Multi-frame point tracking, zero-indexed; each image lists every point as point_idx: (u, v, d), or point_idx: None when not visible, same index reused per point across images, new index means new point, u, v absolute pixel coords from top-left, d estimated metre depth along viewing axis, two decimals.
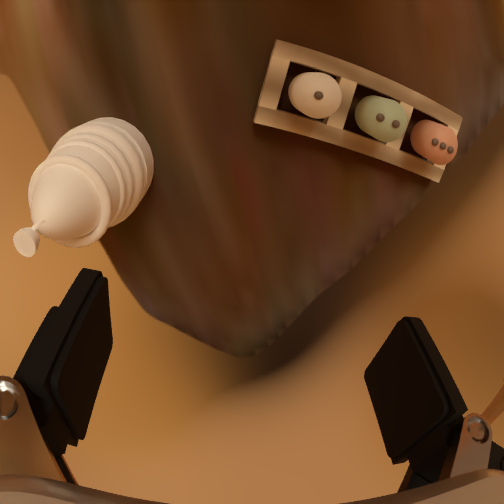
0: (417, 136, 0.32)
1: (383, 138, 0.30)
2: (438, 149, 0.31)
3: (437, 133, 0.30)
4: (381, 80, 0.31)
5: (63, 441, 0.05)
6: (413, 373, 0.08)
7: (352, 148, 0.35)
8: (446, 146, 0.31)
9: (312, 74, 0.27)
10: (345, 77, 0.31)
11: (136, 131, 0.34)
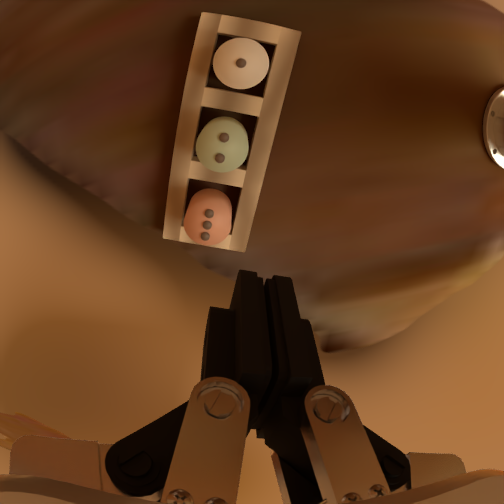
0: (209, 194, 0.33)
1: (199, 145, 0.28)
2: (201, 219, 0.32)
3: (220, 214, 0.32)
4: (266, 144, 0.32)
5: None
6: None
7: (180, 121, 0.30)
8: (208, 229, 0.32)
9: (265, 55, 0.24)
10: (263, 103, 0.30)
11: None
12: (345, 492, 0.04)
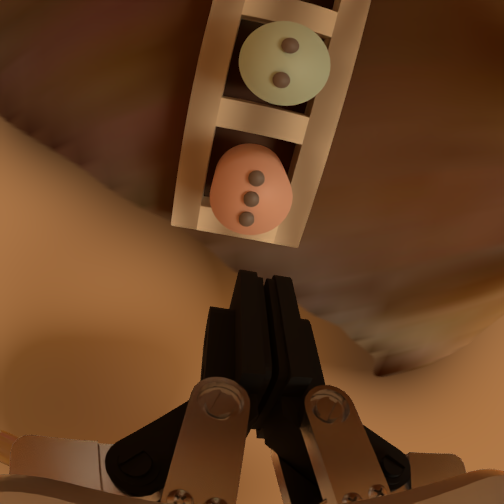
0: (253, 149, 0.19)
1: (245, 57, 0.14)
2: (241, 189, 0.18)
3: (275, 181, 0.18)
4: (341, 79, 0.19)
5: None
6: None
7: (207, 35, 0.17)
8: (252, 206, 0.19)
9: None
10: (338, 18, 0.16)
11: None
12: (345, 492, 0.04)
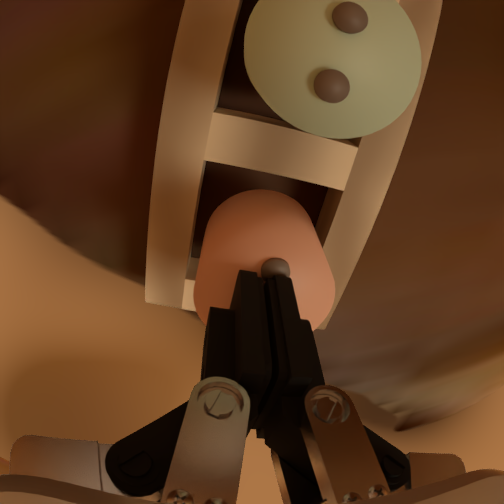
0: (268, 207, 0.11)
1: (259, 36, 0.06)
2: None
3: (307, 274, 0.10)
4: None
5: None
6: None
7: (188, 8, 0.09)
8: None
9: None
10: None
11: None
12: (345, 492, 0.04)
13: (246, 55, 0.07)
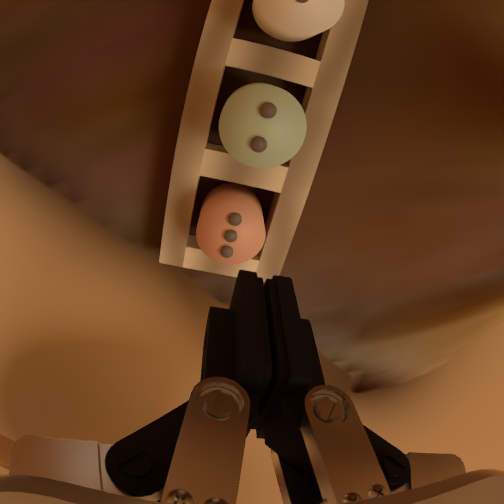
0: (233, 191, 0.23)
1: (225, 122, 0.16)
2: (222, 227, 0.22)
3: (250, 221, 0.22)
4: (321, 130, 0.21)
5: None
6: None
7: (191, 87, 0.19)
8: (231, 242, 0.22)
9: None
10: (320, 68, 0.18)
11: None
12: (345, 492, 0.04)
13: (219, 131, 0.17)
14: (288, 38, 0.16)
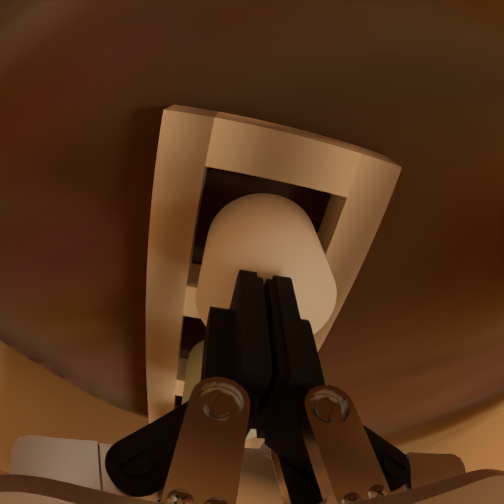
0: None
1: None
2: None
3: None
4: None
5: None
6: None
7: (149, 333, 0.17)
8: None
9: (330, 286, 0.10)
10: None
11: None
12: (345, 492, 0.04)
13: None
14: None
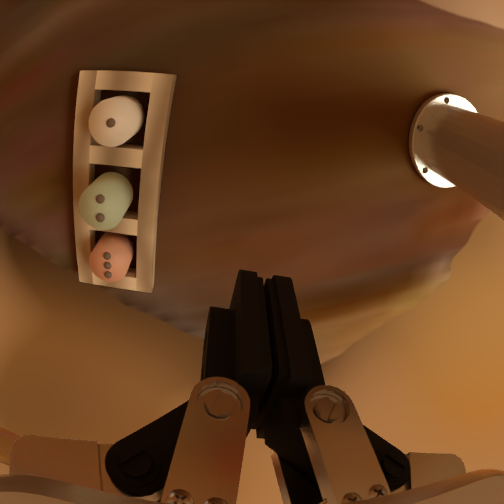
0: (109, 237, 0.35)
1: (82, 207, 0.28)
2: (102, 261, 0.34)
3: (116, 256, 0.34)
4: (152, 194, 0.33)
5: None
6: None
7: (74, 178, 0.31)
8: (108, 269, 0.34)
9: (131, 112, 0.26)
10: (143, 154, 0.30)
11: None
12: (345, 492, 0.04)
13: (80, 213, 0.28)
14: None
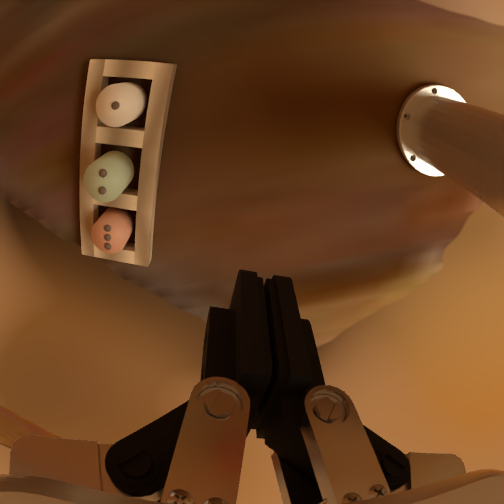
0: (111, 211, 0.37)
1: (86, 181, 0.31)
2: (103, 233, 0.36)
3: (115, 229, 0.36)
4: (151, 172, 0.35)
5: None
6: None
7: (81, 156, 0.33)
8: (108, 240, 0.37)
9: (133, 96, 0.28)
10: (144, 135, 0.33)
11: None
12: (345, 492, 0.04)
13: None
14: None
